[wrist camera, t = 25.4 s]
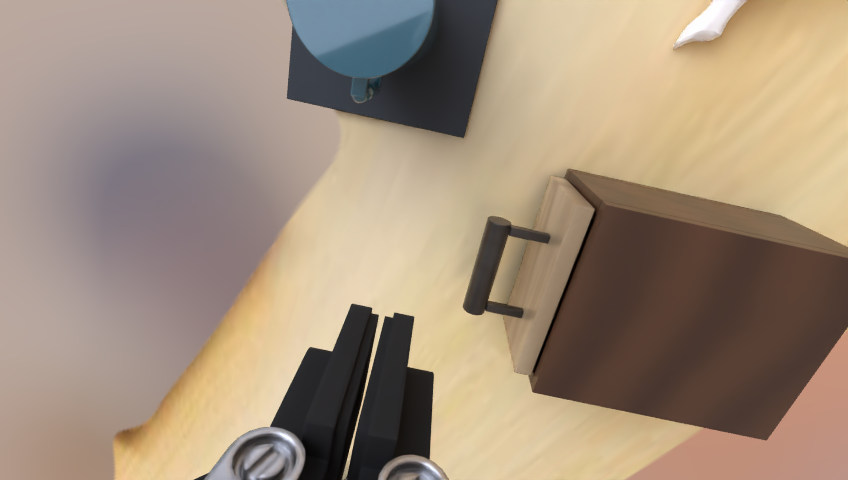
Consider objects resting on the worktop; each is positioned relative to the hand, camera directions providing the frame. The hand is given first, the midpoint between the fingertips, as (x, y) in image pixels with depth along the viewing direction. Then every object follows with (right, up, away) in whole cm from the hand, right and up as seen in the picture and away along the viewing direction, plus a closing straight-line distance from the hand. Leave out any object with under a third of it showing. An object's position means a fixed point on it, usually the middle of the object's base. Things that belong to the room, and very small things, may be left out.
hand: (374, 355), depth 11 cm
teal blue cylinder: (-1, +18, +17) cm, 25 cm away
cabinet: (+19, 0, +24) cm, 30 cm away
